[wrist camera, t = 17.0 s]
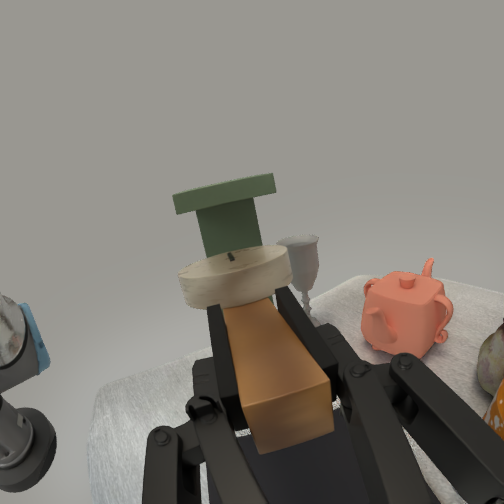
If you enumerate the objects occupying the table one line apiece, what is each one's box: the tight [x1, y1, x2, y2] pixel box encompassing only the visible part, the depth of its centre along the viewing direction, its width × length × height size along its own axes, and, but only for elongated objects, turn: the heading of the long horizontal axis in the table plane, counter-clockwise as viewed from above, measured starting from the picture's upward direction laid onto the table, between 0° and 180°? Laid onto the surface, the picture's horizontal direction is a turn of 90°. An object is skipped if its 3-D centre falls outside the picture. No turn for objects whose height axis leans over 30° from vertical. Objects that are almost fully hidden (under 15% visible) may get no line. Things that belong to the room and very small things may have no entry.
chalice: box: [276, 235, 321, 327], centre depth 48 cm, size 7×7×18 cm
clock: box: [178, 245, 334, 454], centre depth 18 cm, size 9×19×6 cm, turn 11°
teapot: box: [361, 258, 453, 359], centre depth 38 cm, size 15×17×13 cm
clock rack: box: [172, 173, 276, 320], centre depth 34 cm, size 10×9×30 cm
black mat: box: [206, 408, 441, 504], centre depth 19 cm, size 22×22×1 cm
